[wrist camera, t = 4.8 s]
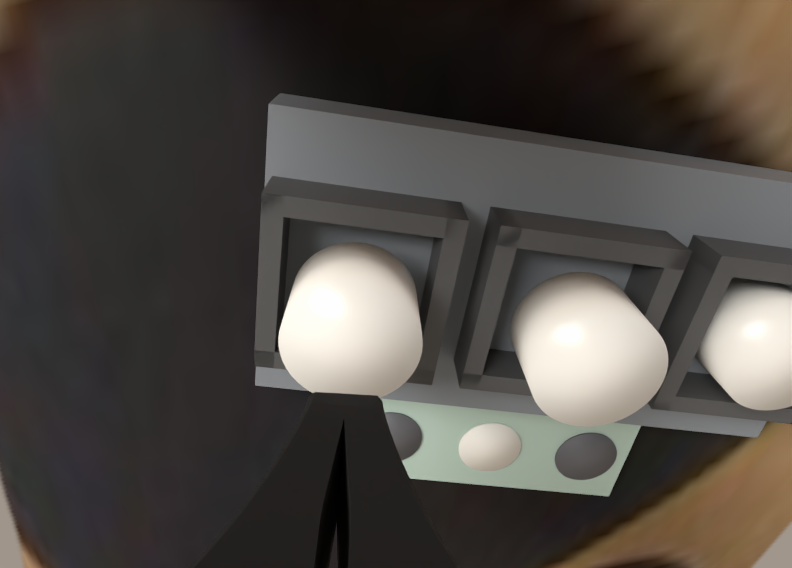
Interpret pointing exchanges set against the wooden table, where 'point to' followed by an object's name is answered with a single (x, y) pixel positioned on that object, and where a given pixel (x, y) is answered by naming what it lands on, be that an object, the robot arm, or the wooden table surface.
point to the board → (517, 243)
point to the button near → (352, 322)
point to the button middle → (587, 350)
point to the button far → (752, 344)
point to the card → (507, 448)
